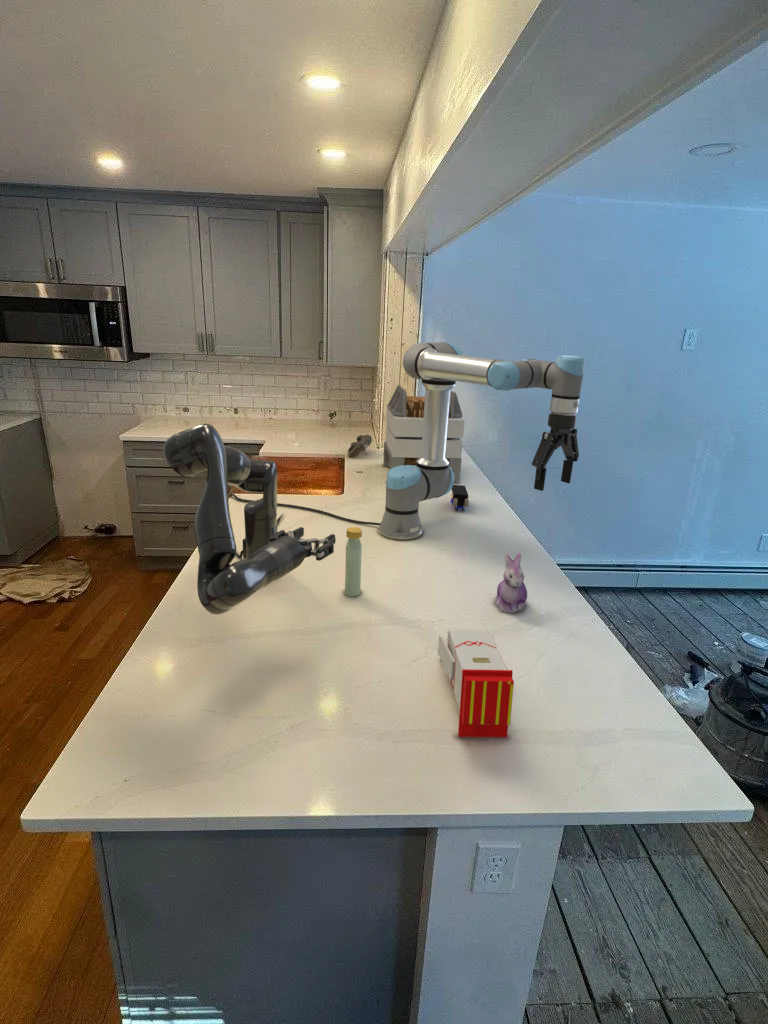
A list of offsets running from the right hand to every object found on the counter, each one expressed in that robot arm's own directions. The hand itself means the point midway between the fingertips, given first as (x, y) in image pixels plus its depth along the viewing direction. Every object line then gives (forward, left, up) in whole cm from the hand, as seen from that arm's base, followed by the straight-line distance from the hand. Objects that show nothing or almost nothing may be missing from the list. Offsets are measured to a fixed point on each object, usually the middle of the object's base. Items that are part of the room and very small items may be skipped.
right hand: (552, 485), depth 166 cm
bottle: (-24, -55, -28) cm, 66 cm away
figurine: (+8, -24, -28) cm, 38 cm away
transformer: (-101, +46, -28) cm, 115 cm away
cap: (-24, -55, -10) cm, 60 cm away
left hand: (-16, -72, -4) cm, 73 cm away
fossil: (-146, +45, -28) cm, 155 cm away
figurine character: (-56, +25, -28) cm, 67 cm away
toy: (+26, -62, -28) cm, 72 cm away
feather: (-85, -40, -28) cm, 98 cm away
